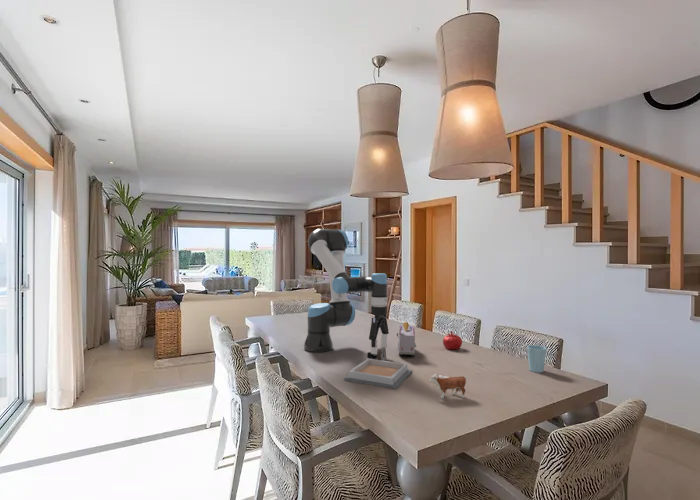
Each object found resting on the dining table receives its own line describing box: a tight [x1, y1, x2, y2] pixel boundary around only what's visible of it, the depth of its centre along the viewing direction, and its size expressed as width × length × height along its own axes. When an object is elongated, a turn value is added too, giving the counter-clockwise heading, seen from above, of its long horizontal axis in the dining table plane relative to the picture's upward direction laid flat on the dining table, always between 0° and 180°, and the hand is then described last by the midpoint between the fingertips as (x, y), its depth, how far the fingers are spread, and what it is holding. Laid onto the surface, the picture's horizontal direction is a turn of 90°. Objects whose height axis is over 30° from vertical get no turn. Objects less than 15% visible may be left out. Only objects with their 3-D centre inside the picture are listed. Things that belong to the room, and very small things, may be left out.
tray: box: [343, 358, 413, 390], centre depth 158 cm, size 22×22×4 cm
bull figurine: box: [428, 373, 466, 400], centre depth 136 cm, size 4×13×8 cm, turn 94°
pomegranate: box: [442, 330, 463, 350], centre depth 204 cm, size 10×10×9 cm
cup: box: [526, 344, 547, 374], centre depth 168 cm, size 8×8×10 cm
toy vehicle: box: [396, 321, 417, 357], centre depth 194 cm, size 9×20×15 cm, turn 174°
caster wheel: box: [366, 346, 387, 361], centre depth 181 cm, size 7×11×10 cm
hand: (379, 350), depth 180 cm, fingers open, 13 cm apart
